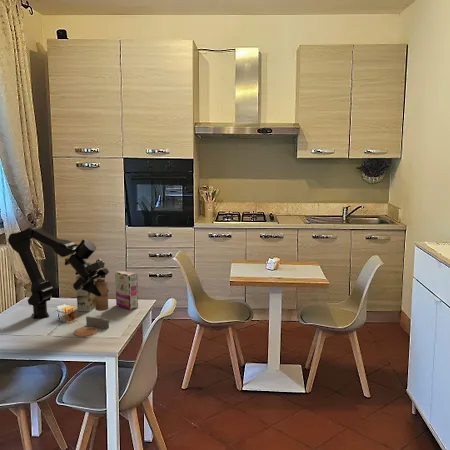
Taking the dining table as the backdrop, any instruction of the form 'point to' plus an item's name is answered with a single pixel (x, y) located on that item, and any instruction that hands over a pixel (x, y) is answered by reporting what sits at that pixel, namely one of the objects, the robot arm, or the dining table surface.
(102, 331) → the dining table surface
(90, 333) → the coaster
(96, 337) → the dining table surface
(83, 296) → the coffee box
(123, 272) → the candy bar box
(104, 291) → the walnut mill
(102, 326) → the grey flat bar
